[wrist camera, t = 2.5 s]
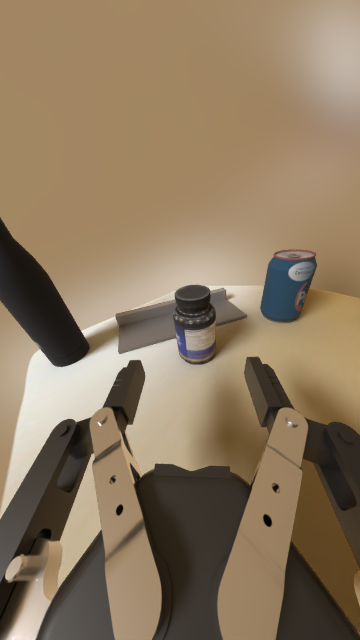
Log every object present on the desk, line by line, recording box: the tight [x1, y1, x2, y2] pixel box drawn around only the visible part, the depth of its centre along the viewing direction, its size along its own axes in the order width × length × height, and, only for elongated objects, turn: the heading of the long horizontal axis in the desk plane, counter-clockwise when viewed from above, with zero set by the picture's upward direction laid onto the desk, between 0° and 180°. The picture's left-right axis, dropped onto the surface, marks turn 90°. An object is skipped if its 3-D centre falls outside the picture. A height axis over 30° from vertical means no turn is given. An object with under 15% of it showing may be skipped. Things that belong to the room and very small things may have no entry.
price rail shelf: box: [116, 288, 247, 354], centre depth 34 cm, size 26×10×3 cm, turn 107°
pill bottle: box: [173, 285, 216, 364], centre depth 24 cm, size 6×6×11 cm
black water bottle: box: [0, 218, 89, 367], centre depth 22 cm, size 6×6×30 cm
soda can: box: [260, 250, 317, 323], centre depth 30 cm, size 7×7×12 cm
